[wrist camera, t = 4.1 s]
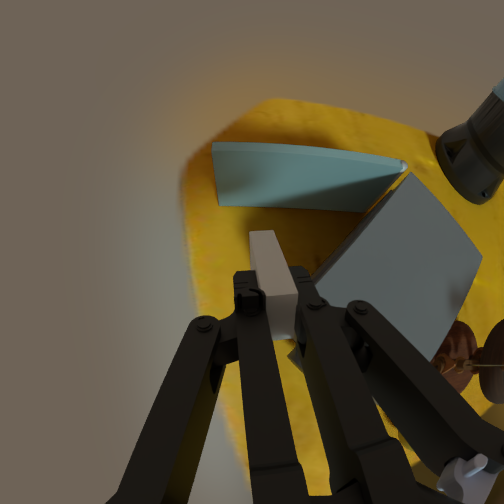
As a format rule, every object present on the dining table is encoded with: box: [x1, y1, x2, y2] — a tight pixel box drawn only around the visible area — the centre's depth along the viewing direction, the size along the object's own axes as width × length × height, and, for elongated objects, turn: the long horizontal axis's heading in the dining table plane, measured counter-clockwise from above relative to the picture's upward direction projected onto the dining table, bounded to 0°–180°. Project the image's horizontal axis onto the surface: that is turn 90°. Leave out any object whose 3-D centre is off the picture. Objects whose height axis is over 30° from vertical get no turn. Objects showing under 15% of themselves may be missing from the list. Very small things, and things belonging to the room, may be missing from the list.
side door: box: [211, 142, 408, 213], centre depth 27 cm, size 19×2×11 cm, turn 89°
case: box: [287, 172, 482, 405], centre depth 24 cm, size 20×12×11 cm, turn 134°
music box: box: [430, 319, 504, 404], centre depth 19 cm, size 15×11×20 cm
